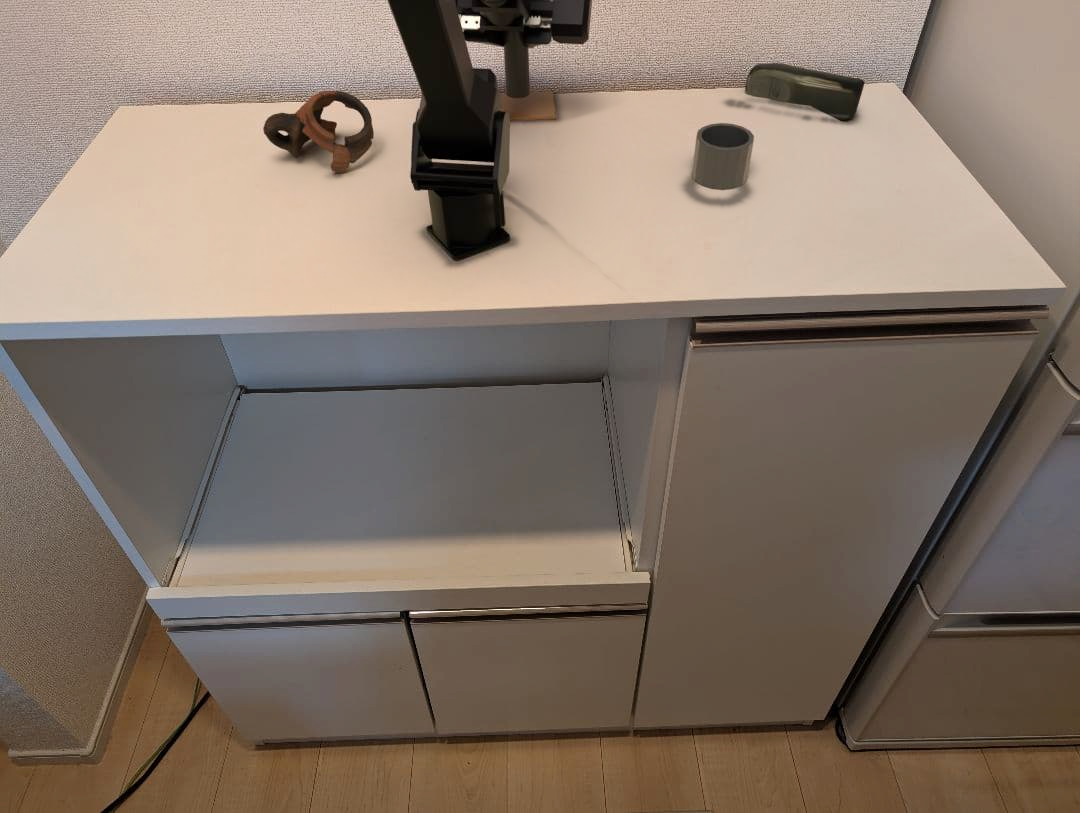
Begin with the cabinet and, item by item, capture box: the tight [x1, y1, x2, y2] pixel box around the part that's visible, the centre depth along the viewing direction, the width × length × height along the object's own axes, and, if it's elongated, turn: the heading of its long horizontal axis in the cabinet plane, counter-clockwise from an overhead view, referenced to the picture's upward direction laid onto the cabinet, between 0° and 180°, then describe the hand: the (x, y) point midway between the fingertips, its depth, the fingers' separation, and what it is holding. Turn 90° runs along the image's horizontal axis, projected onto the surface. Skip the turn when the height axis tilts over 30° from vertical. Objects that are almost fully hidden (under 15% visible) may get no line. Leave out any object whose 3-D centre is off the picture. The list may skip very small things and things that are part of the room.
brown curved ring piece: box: [262, 90, 375, 174], centre depth 91 cm, size 12×10×8 cm
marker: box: [503, 26, 531, 98], centre depth 95 cm, size 3×3×15 cm
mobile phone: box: [744, 62, 865, 121], centre depth 97 cm, size 5×3×15 cm
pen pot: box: [691, 122, 755, 191], centre depth 85 cm, size 6×6×6 cm
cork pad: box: [500, 91, 557, 122], centre depth 101 cm, size 9×7×1 cm
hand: (518, 43), depth 97 cm, fingers closed on marker, 3 cm apart
